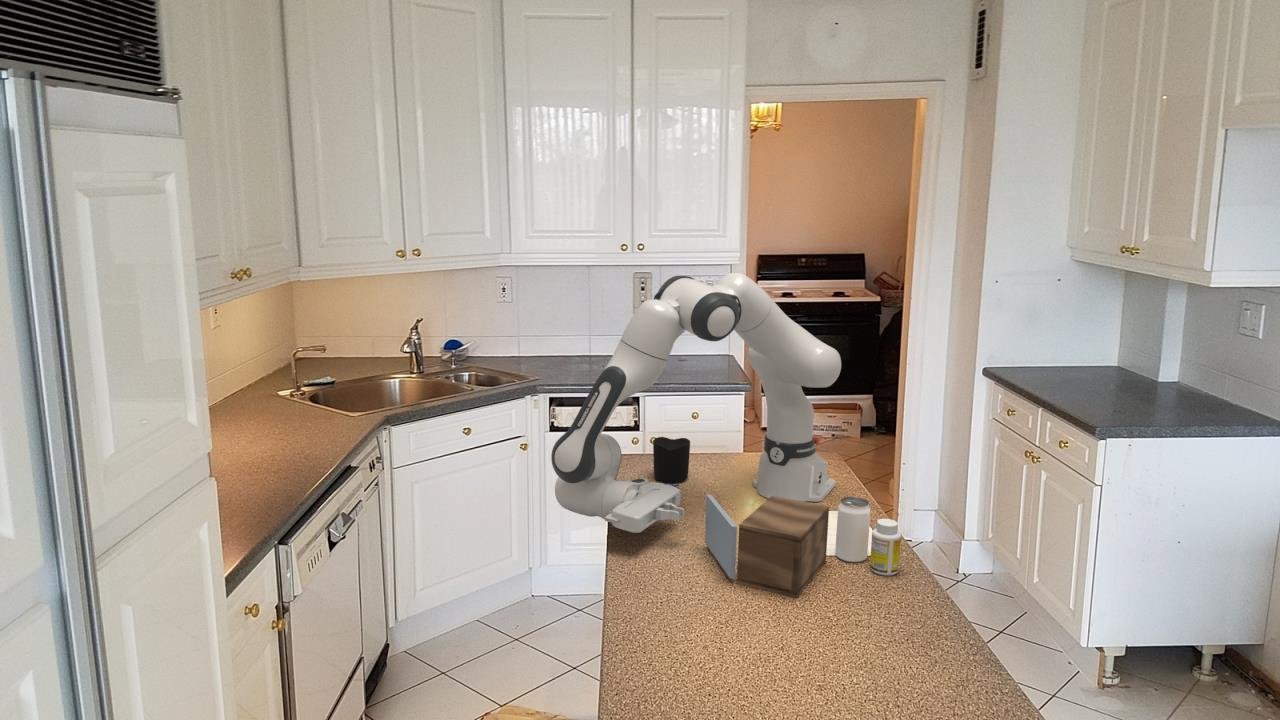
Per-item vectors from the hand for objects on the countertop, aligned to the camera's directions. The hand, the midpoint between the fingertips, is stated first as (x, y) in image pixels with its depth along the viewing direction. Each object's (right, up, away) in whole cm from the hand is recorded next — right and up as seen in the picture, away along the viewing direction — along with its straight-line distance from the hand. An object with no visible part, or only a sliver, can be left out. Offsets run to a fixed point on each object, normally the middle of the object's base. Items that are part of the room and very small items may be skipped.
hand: (681, 514), depth 189 cm
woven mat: (-5, -1, +32) cm, 33 cm away
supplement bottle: (+40, -10, -9) cm, 42 cm away
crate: (+19, -10, -10) cm, 24 cm away
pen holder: (-1, +2, +44) cm, 44 cm away
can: (+35, -8, -2) cm, 36 cm away
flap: (+7, -8, -7) cm, 13 cm away
